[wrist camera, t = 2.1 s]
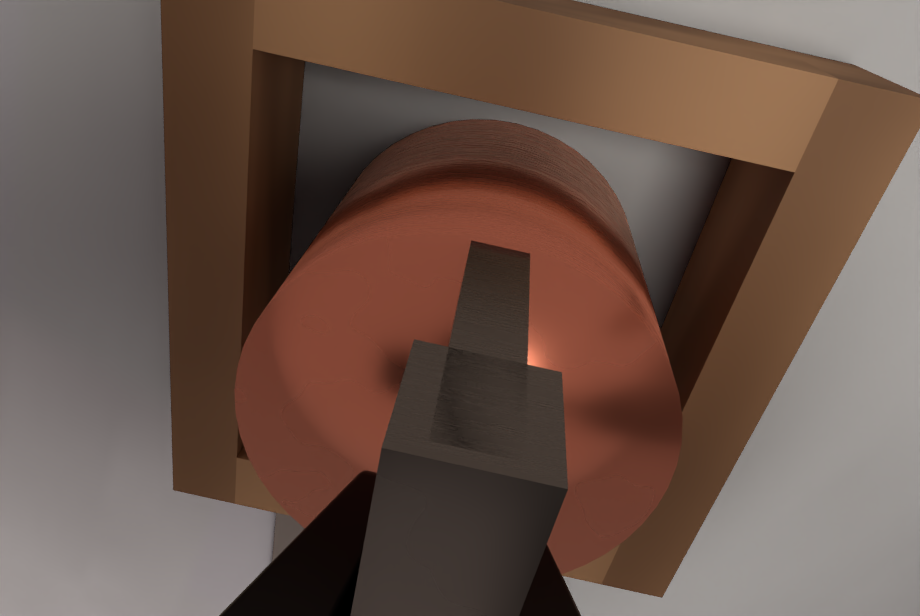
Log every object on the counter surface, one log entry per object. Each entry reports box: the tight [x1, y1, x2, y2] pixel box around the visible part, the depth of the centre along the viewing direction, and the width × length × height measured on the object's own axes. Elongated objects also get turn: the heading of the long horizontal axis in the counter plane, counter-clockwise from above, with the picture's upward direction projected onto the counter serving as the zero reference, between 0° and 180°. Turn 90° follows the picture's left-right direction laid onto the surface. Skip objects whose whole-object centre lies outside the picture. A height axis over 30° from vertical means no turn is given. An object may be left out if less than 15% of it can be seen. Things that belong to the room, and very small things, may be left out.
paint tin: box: [234, 119, 683, 616], centre depth 11 cm, size 7×7×10 cm
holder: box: [161, 0, 920, 597], centre depth 14 cm, size 12×12×3 cm
